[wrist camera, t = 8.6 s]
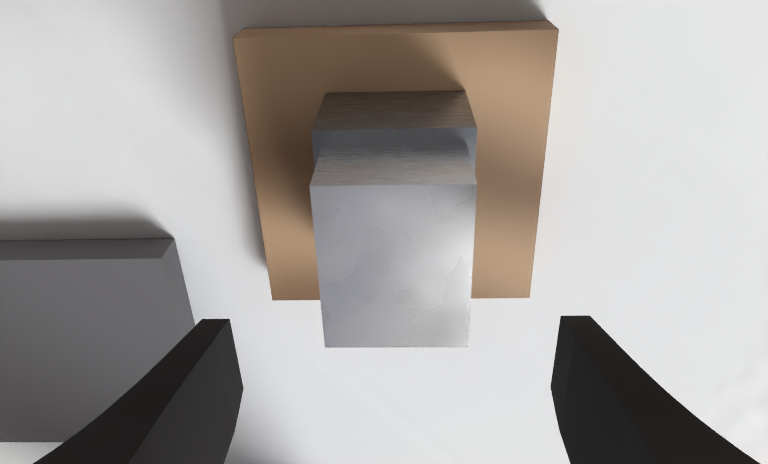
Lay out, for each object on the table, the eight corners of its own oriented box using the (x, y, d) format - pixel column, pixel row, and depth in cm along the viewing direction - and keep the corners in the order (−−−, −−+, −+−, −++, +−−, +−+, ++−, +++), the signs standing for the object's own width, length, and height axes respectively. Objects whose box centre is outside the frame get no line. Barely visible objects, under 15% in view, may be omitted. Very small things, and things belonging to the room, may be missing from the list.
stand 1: (216, 417, 29) (208, 441, 28) (14, 417, 29) (-4, 442, 28) (174, 238, 24) (161, 258, 23) (-69, 241, 24) (-95, 261, 23)
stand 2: (522, 275, 24) (529, 297, 23) (279, 278, 25) (272, 300, 23) (548, 20, 19) (558, 29, 18) (243, 28, 20) (232, 38, 19)
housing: (458, 249, 22) (476, 360, 17) (337, 251, 22) (317, 361, 17) (465, 89, 19) (488, 164, 14) (325, 92, 19) (296, 167, 14)
